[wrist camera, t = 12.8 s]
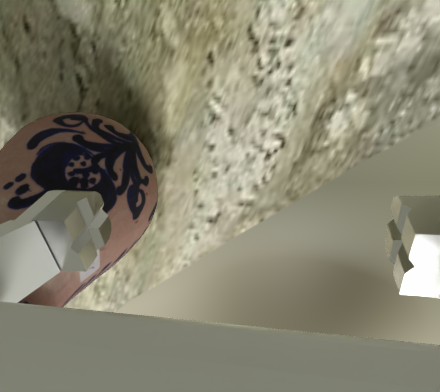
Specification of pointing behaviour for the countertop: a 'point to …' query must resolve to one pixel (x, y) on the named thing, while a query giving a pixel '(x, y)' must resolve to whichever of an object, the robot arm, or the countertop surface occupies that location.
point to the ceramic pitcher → (80, 185)
